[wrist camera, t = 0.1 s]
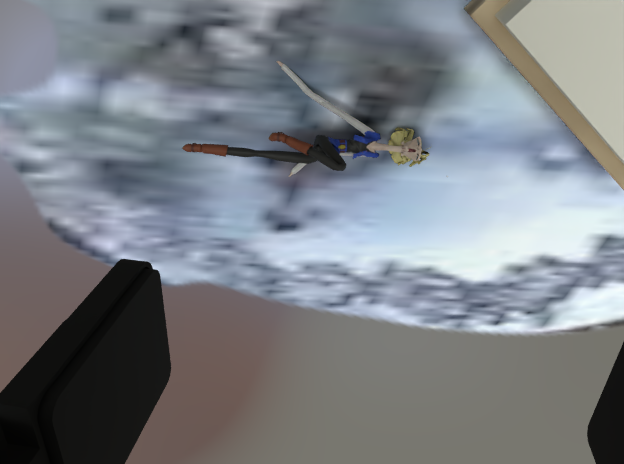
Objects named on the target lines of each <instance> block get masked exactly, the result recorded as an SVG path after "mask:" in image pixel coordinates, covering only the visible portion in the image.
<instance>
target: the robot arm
mask: <svg viewBox="0 0 624 464" xmlns="http://www.w3.org/2000/svg"><path fill="white" fill-rule="evenodd" d="M170 372H171V362H170V353H169V345H168V337H167V329H166V320H165V313H164V304H163V296H162V287H161V279H160V273H159V271H158V270H154V269H153V268H152V265H151V264H150V263H149V262H145V261H136V260H128V259H121V260H120V261H118V262H117V263H116V265H115V266H114V267H113V268H112V269H111V270H110V271H109V273H108V274H107V275H106V276H105V277H104V278H103V279H102V281H101V282H100V283H99V284H98V285H97V286H96V287H95V288H94V289H93V291H92V292H91V293H90V294H89V295H88V296H87V297H86V298H85V300H84V301H83V302H82V303H81V304H80V305H79V306H78V308H77V309H76V310H75V311H74V312H73V313H72V314H71V315H70V317H69V318H68V319H67V320H65V321H64V322H63V323H62V324H61V325H60V326H59V327H58V329H57V330H56V331H55V332H54V333H53V334H52V336H51V337H50V338H49V339H48V340H47V341H46V342H45V343H44V344H43V346H42V347H41V348H40V349H39V350H38V351H37V352H36V353H35V355H34V356H33V357H32V358H31V359H30V360H29V361H28V362H27V363H26V365H25V366H24V367H23V368H22V369H21V370H20V371H19V372H18V374H17V375H16V376H15V377H14V378H13V379H12V380H11V381H10V383H9V384H8V385H7V386H6V387H5V389H4V390H2V392H1V393H0V464H125V462H126V460H127V458H128V456H129V454H130V453H131V451H132V449H133V447H134V445H135V443H136V441H137V439H138V438H139V436H140V434H141V432H142V430H143V428H144V426H145V424H146V422H147V421H148V419H149V417H150V415H151V413H152V411H153V409H154V407H155V405H156V404H157V402H158V400H159V398H160V396H161V394H162V392H163V390H164V389H165V387H166V385H167V383H168V380H169V377H170ZM587 436H588V442H589V446H590V448H591V451H592V454H593V456H594V459H595V462H596V464H624V342H623V345H622V348H621V350H620V352H619V354H618V357H617V359H616V361H615V364H614V366H613V368H612V371H611V373H610V375H609V378H608V380H607V382H606V385H605V387H604V390H603V392H602V394H601V397H600V399H599V401H598V403H597V406H596V408H595V410H594V413H593V415H592V417H591V420H590V422H589V425H588V432H587Z"/></svg>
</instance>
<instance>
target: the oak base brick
mask: <svg viewBox="0 0 624 464" xmlns="http://www.w3.org/2000/svg"><path fill="white" fill-rule="evenodd" d="M509 1H510V0H472V1H471V2H470V3H469V4H468V5H467V6H466V7H465V8H464V9H465V10H466V12H467V13H468V14H469V15H470V16H471V17H472V18H473V20H474V21H475V22H476V23H477V24H478V25H479V26H480V27H481V29H482V30H483V31H484V32H485V33H486V34H487V35H488V37H489V38H490V39H491V40H492V41H493V42H494V43H495V45H496V46H497V47H498V48H499V49H500V50H501V51H502V52H503V54H504V55H505V56H506V57H507V58H508V59H509V60H510V62H511V63H512V64H513V65H514V66H515V67H516V68H517V70H518V71H519V72H520V73H521V74H522V75H523V76H524V77H525V79H526V80H527V81H528V82H529V83H530V84H531V85H532V87H533V88H534V89H535V90H536V91H537V92H538V93H539V95H540V96H541V97H542V98H543V99H544V100H545V101H546V103H547V104H548V105H549V106H550V107H551V108H552V109H553V110H554V112H555V113H556V114H557V115H558V116H559V117H560V118H561V120H562V121H563V122H564V123H565V124H566V125H567V126H568V128H569V129H570V130H571V131H572V132H573V133H574V134H575V135H576V137H577V138H578V139H579V140H580V141H581V142H582V143H583V145H584V146H585V147H586V148H587V149H588V150H589V151H590V153H591V154H592V155H593V156H594V157H595V158H596V159H597V160H598V162H599V163H600V164H601V165H602V166H603V167H604V168H605V170H606V171H607V172H608V173H609V174H610V175H611V176H612V177H613V179H614V180H615V181H616V182H617V183H618V184H619V185H620V187H621V188H622V189H623V190H624V164H623V163H622V162H621V161H620V160H619V159H618V158H617V156H616V155H615V154H614V153H613V152H612V151H611V149H610V148H609V147H608V146H607V145H606V144H605V143H604V141H603V140H602V139H601V138H600V137H599V136H598V134H597V133H596V132H595V131H594V130H593V129H592V127H591V126H590V125H589V124H588V123H587V122H586V121H585V119H584V118H583V117H582V116H581V115H580V114H579V112H578V111H577V110H576V109H575V108H574V107H573V105H572V104H571V103H570V102H569V101H568V100H567V99H566V97H565V96H564V95H563V94H562V93H561V92H560V90H559V89H558V88H557V87H556V86H555V85H554V84H553V82H552V81H551V80H550V79H549V78H548V77H547V75H546V74H545V73H544V72H543V71H542V70H541V68H540V67H539V66H538V65H537V64H536V63H535V62H534V60H533V59H532V58H531V57H530V56H529V55H528V53H527V52H526V51H525V50H524V49H523V48H522V47H521V45H520V44H519V43H518V42H517V41H516V40H515V38H514V37H513V36H512V35H511V34H510V33H509V31H508V30H507V29H506V28H505V27H504V26H503V25H502V23H501V22H500V21H499V20H498V19H497V18H496V16H495V14H496V13H497V12H498V11H499V10H501V9H502V8H503V7H504V6H505V5H506V4H507V3H508V2H509Z"/></svg>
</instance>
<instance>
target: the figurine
mask: <svg viewBox="0 0 624 464" xmlns="http://www.w3.org/2000/svg"><path fill="white" fill-rule="evenodd" d="M277 63H278V64H279V65H280V66H282V70H283V71H285V72H286V73H287V74H288V75H289V76H290V77H291V78H292V79H293V80H294V81H295V83H296V84H297V85H298V86H299V87H300V88H301V89H302V90H303V92H304V93H305V94H306V95H308V96H309V97H310V98H312V99H313V100H315V101H316V102H318V103H319V104H321V105H322V106H323V107H325V108H327V109H328V110H330V111H331V112H333V113H335V114H336V115H338V116H339V117H341V118H342V119H344V120H345V121H347V122H348V123H349V124H351V125H352V126H353V127H355V128H356V129H358V130H359V131H360V132H362V133H363V134H364V135H365V136H364V137H362V136H358V135H356V134H355V135H354V139H352V140H345V139H333V138H331V137H326V136H324V135H317V136H316V139H315V142H314V148H313V145H311V144H309V143H306V142H303V141H300V140H298V139H296V138H293V137H290V136H287V135H286V134H284V133H283V134H282V132H278V133H272V134H271V135H270V137H269V140H270V141H279V142H280V141H282V142H283V143H286V144H287V145H289V146H290V147H292V148H294V149H296V150H298V151H300V152H302V153H299V152H287V151H259V150H252V149H247V148H236V147H228V145H216V144H202V145H201V144H196V143H193V144H186V145H185V146H184V147H183V149H184V150H185V151H187V152H203V153H206V154H215V155H220V156H225V157H226V155H233V156H240V157H254V156H257V157H265V158H269V159H274V160H279V161H285V162H293V163H298V164H297V165H296V166H295V167H294V168H293V169H292V170H291V174H290V175H289V176H291V175H293V174H296V173H297V172H298V171H299V170H300V169H302V168H303V167H304V166H305V165H306V164H309V163H312V162H316V161H317V160H318V161H319V162H321V163H322V164H324V165H326V166H327V167H329V168H331V169H333V170H337V171H343V170H345V168H346V163H345V161H344V160H343V159H342V157H341V156H353V159H354V158H356V157H357V156H363V157H373V158H375V157H376V158H377V157H378V156H379V154H378V153H376V150H387V151H389V152H390V154H392V156H391V157H392V159H393V160H394V162H395V163H398V165H400V164H404V163H406V162H408V161H410V160H411V159H412V160H413V162H412V163H411V164H410V165H409V166H410V167H411V166H413V165H414V164H416V163H418V164H420V163H421V162H422V161H423V160H426V157H427V156H429V153H428V152H426V151H423V150H422V148H421V138H420V137H417V138H415V139H413V140H412V138H413V135H414V130H412V129H408V128H406V129H407V130H409V131H406V130H405V129H403V128H396V129H395V130H400V131H396V132H394V133H393V134H392V135H391V139H392V140H389V144H388V145H386V144H380V143H377V142H376V141H377V140H378V139H381V138H380V134H378V133H376V132H375V131H373V130H372V129H371V128H369V127H368V126H366V125H365V124H363V123H362V122H360V121H359V120H357V119H355V118H354V117H352V116H351V115H349V114H347V113H346V112H344V111H342V110H341V109H339V108H338V107H336V106H334V105H333V104H331V103H330V102H328V101H326V100H325V99H323V98H322V97H321V96H319V95H317V94H315V93H313V92H312V91H311V90H310V89H309V88H308V87H307V86H306V85H305V84H304V82H303V81H302V80H301V79H300V78H299V77H298V76H297V75H296V74H294V73H293V72H292V71H291V70H290V69H289V68H288V67H287V66H286V65H285V64H283V63H281V62H280V61H277ZM408 132H409V133H408ZM428 149H429V148H428ZM425 150H426V149H425ZM422 153H423V154H427V155H422ZM419 159H421V160H420V161H419ZM447 177H448V176H447Z"/></svg>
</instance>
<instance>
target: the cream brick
mask: <svg viewBox="0 0 624 464" xmlns="http://www.w3.org/2000/svg"><path fill="white" fill-rule="evenodd" d="M495 16H496V18H497V19H498V20H499V21H500V22H501V23H502V25H503V26H504V27H505V28H506V29H507V30H508V31H509V33H510V34H511V35H512V36H513V37H514V38H515V40H516V41H517V42H518V43H519V44H520V45H521V47H522V48H523V49H524V50H525V51H526V52H527V53H528V55H529V56H530V57H531V58H532V59H533V60H534V62H535V63H536V64H537V65H538V66H539V67H540V68H541V70H542V71H543V72H544V73H545V74H546V75H547V77H548V78H549V79H550V80H551V81H552V82H553V84H554V85H555V86H556V87H557V88H558V89H559V90H560V92H561V93H562V94H563V95H564V96H565V97H566V99H567V100H568V101H569V102H570V103H571V104H572V105H573V107H574V108H575V109H576V110H577V111H578V112H579V114H580V115H581V116H582V117H583V118H584V119H585V121H586V122H587V123H588V124H589V125H590V126H591V127H592V129H593V130H594V131H595V132H596V133H597V134H598V136H599V137H600V138H601V139H602V140H603V141H604V143H605V144H606V145H607V146H608V147H609V148H610V149H611V151H612V152H613V153H614V154H615V155H616V156H617V158H618V159H619V160H620V161H621V162H622V163H623V164H624V0H510V1H509V2H508V3H507V4H506V5H505V6H504V7H503V8H502V9H501V10H499V11H498V12H497V13H496V14H495Z"/></svg>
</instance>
